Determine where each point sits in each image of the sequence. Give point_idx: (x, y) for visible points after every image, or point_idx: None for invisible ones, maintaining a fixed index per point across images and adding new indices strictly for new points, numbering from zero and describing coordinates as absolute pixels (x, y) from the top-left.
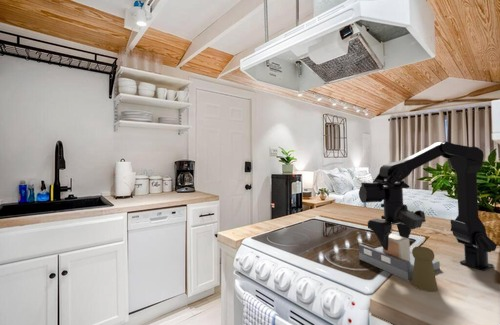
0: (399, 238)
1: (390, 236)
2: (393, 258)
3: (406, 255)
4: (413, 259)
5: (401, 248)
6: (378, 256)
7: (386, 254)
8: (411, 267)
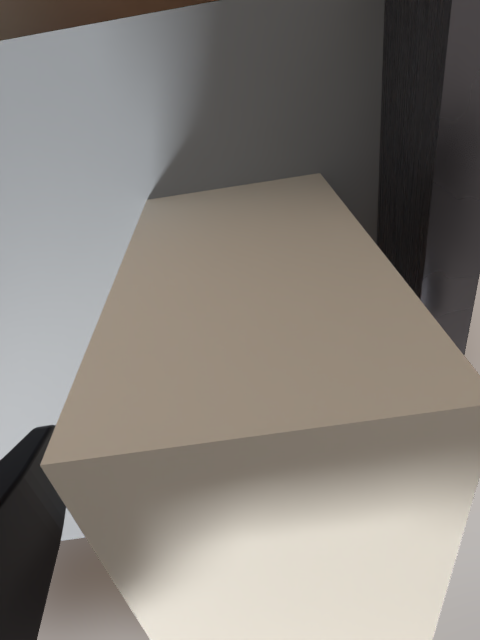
0: (299, 525)
1: (351, 621)
2: (477, 217)
3: (213, 232)
4: (35, 260)
5: (371, 279)
6: None
7: (460, 329)
8: (251, 78)
